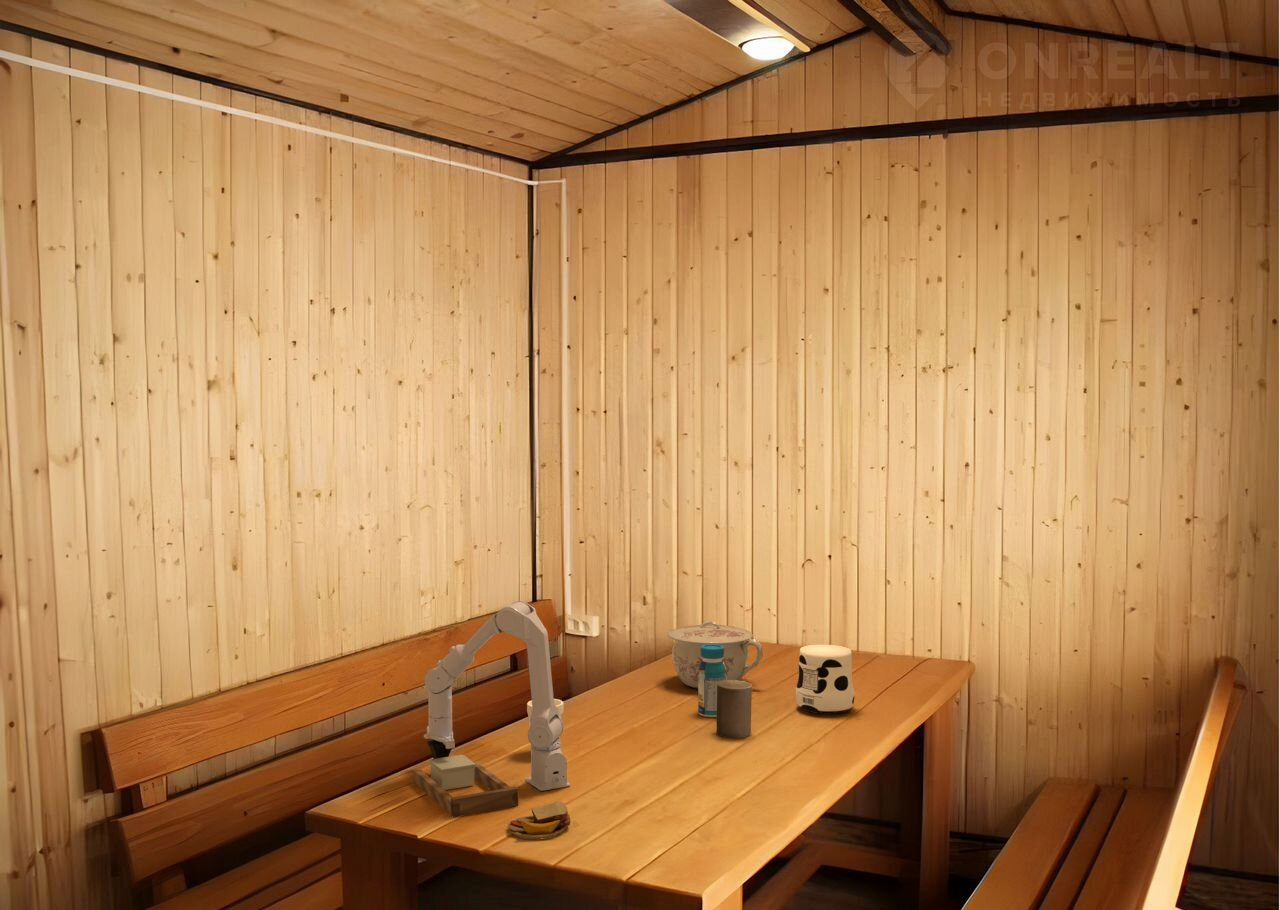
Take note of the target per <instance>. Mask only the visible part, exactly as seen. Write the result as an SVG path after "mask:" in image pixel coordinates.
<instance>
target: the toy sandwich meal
mask: <svg viewBox="0 0 1280 910" xmlns="http://www.w3.org/2000/svg"><path fill="white" fill-rule="evenodd" d="M531 813H532V815H526V816H521V817H518V818H515V819H514V820H511V821H510V822H509V823H508V824H507V829H508V831H509V832H510V833H511V834H512V835H513V836H516V837H517V838H520V839H524V838H526V840H542V839H541V838H546V839H550V838H549V837H551V838H553V837H552V836H554V835H557V834H559V833H560V834H562V832H563V831H564V830H565V829H566V827H568V826H570V825H571V816H570V815H569V811H568V806H566V804H565V803H563V802H562V801H555V802H551V803H548V804H542V805H538V806H535V807H532V808H531ZM560 834H559V835H560ZM557 836H558V835H557ZM554 837H555V836H554Z"/></svg>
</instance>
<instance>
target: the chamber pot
mask: <svg viewBox="0 0 1280 910" xmlns="http://www.w3.org/2000/svg"><path fill="white" fill-rule="evenodd" d="M667 637H669V638H670V639H672V640H674V641H675V642H674V644H673V645H672V648H671V657H672V658H671V659H672V662H673V666H674V671H675V673H676V674H677V676H678V677H679V679H680V681H681V682H682V683H683V684H685V685H686V686H687V687H691V688H693V689H695V690H698V675H699V671H698V668H699V665H700V663H701V661H702V660H703V658H701V646H703V645H708V644H715V645H721V646H723V647H724V658H723V659H722V661H723V662H724V664H725V666H726V672H725V675H726V677H727V680H738V681H742V678H744V676H745V675H746V674H747V673H748V672H749V671H751V670H753V669H754V668H756V667H757V666H758V664H760V663H761V661H762V660H763V657H764V648H763V646H762V644H761V642H760V641H759V640H758V639H756V638H753V637H754V635H753V633H752V632H751V631H749V630H746V629H744V628H741V627H737V626H736V627H735V626H731V625H722V624H718V623H717V622H715V621H711V620H710V621H704V622H703V623H701V624H693V625H684V626H681V627H677V628H673V629H671V630H670V631H668V632H667ZM749 646H754V647H755V648H756V653H757V654H756V655H757V656H756V659H755V660H754V661H753V662H752V663H751V665H748V661H749V648H748V647H749Z"/></svg>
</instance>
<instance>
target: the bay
mask: <svg viewBox="0 0 1280 910" xmlns="http://www.w3.org/2000/svg"><path fill="white" fill-rule="evenodd" d="M471 761H472V760H471ZM472 762H474V763H475V764H476V768H474V779H475V780H477V781H478V782H479V783H481V784H482V785H483V786H484V787H486V788H487V789H488V788H489V790H487V791H482V792H475V793H470V794H465V795H459V796H452V795H451V794H450V793H449V792H447V790H444V789H443V788H442V787H440V786H439V785H438V784H437V783H436V782H435V781H433V780H432V779H431V776H429V775H428V774H426V773H425V772H424V771H423V770H422V769H417V770H416V769H415V770H414V784H415V785H416V786H417V787H419V788H420V789H421V790H422V792H424V793H426V794H427V795H428V796H429V797H430V798H431V799H432V800H433V801H434V802H436V803H437V804H438V805H439V806H440V807H441V809H443V808H444V810H445V812H446V813H448V814H449V813H450V814H451V815H452V816H453V817H452V816H451V815H450V814H449V815H450V816H451V817H452V818H457V817H463V816H469V815H474V814H475V815H476V814H479V813H486V812H492V811H496V810H501V809H507V808H512V807H513V808H514V807H517V806H519V787H517V786H515V785H514V786H509V784H507V783H506V782H504V780H502V779H500V778H499V777H497V776H496V775H495V774H494V773H492V772H491V771H490V770H489V769H487V768H485V767H484V766H483V765H482V764H480V763H479V762H477V760H473V761H472Z"/></svg>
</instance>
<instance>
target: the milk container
mask: <svg viewBox="0 0 1280 910" xmlns="http://www.w3.org/2000/svg"><path fill="white" fill-rule="evenodd" d="M798 657H799V658H798V659H799V661H798V681H797V683H796V686H795V700H796V704H797V706H798V707H800V709H802V710H804V711H806V712H811V713H816V714H824V715H828V714H829V715H831V714H840V713H845V712H848V711H849V710H851V709H852V708H853V706H854V702H855V698H856V697H855V694H856V693H855V689H854V685H853V677H852V672H853V664H852V663H853V658H852V657H853V655H852V650H851V649H850V648H848V647H845V646H841V645H837V644H836V645H835V644H808V645H804V646H801V647H800V649H799V656H798Z"/></svg>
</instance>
